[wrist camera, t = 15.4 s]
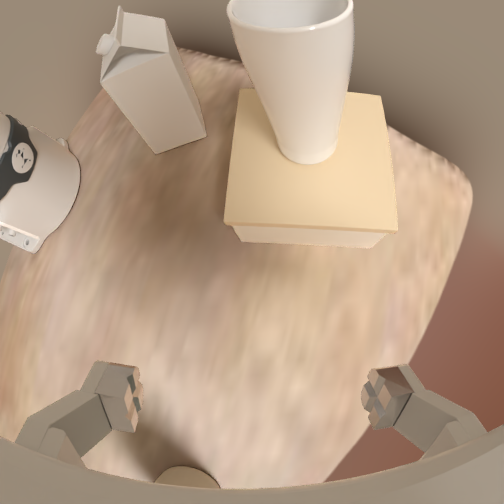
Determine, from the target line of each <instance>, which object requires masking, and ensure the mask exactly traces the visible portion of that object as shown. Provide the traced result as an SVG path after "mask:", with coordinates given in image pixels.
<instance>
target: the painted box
mask: <svg viewBox="0 0 504 504" xmlns="http://www.w3.org/2000/svg"><path fill="white" fill-rule="evenodd" d="M223 222H224V224H225V225H231V226H232V227H233V229H234V230H235V232H236V234H237V235H238V237H239V239H240V240H241V242H254V243H275V244H296V245H316V246H336V247H354V248H372V247H373V246H374V245H375V244H376V243H377V242H379V241H380V240H381V239H382V238H383V237H384V236H385V235H386V234H388V233H389V234H395V233H396V232H397V231H398V221H397V207H396V195H395V185H394V176H393V167H392V160H391V152H390V145H389V139H388V133H387V127H386V121H385V116H384V111H383V106H382V101H381V96H377V95H369V94H361V93H353V92H347V94H346V99H345V104H344V108H343V113H342V118H341V123H340V128H339V135H338V144H337V147H336V149H335V151H334V153H333V154H332V155H331V156H330V157H329V158H328V159H326V160H325V161H323V162H321V163H318V164H313V165H303V164H298V163H295V162H293V161H291V160H289V159H288V158H287V157H286V156H285V155H284V154H283V153H282V152H281V150H280V149H279V146H278V143H277V140H276V136H275V133H274V131H273V129H272V126H271V124H270V121H269V119H268V117H267V115H266V112H265V110H264V108H263V106H262V103H261V101H260V99H259V97H258V95H257V93H256V91H255V88H245V89H240V90H239V97H238V104H237V111H236V119H235V126H234V134H233V142H232V150H231V158H230V166H229V175H228V184H227V192H226V201H225V211H224V220H223Z"/></svg>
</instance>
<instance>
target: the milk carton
mask: <svg viewBox="0 0 504 504" xmlns="http://www.w3.org/2000/svg"><path fill="white" fill-rule="evenodd" d="M96 54H102V55H103V58H102V67H101V76H100V83H101V85H102V86H103V88H104V89H105V90H106V92H107V93H108V94H109V95H110V97H111V98H112V99H113V101H114V102H115V103H116V105H117V106H118V107H119V108H120V110H121V111H122V112H123V114H124V115H125V116H126V117H127V119H128V120H129V121H130V123H131V124H132V125H133V126H134V128H135V129H136V130H137V132H138V133H139V134H140V135H141V137H142V138H143V139H144V140H145V142H146V143H147V144H148V146H149V147H150V148H151V149H152V151H153V152H154V153H155V154H159V153H162V152H164V151H167V150H170V149H173V148H175V147H178V146H181V145H184V144H187V143H190V142H193V141H196V140H199V139H202V138H205V137H207V134H206V129H205V125H204V121H203V117H202V113H201V109H200V105H199V101H198V98H197V96H196V93H195V91H194V89H193V86H192V84H191V81H190V79H189V77H188V74H187V72H186V70H185V67H184V65H183V62H182V60H181V58H180V55H179V53H178V51H177V48H176V46H175V44H174V41H173V39H172V36H171V34H170V32H169V30H168V27H167V25H166V22H165V20H164V19H160V18H156V17H151V16H145V15H139V14H132V13H125V12H124V11H123V10H122V8H121V6H118V11H117V18H116V24H115V26H114V28H113V30H112V31H111V33H110V35H108V34H104V35H103V36H102V37H101V39H100V41H99V43H98V46H97V49H96Z"/></svg>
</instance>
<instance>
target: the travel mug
mask: <svg viewBox="0 0 504 504" xmlns="http://www.w3.org/2000/svg"><path fill="white" fill-rule="evenodd" d="M154 483H159V484H167V485H176V486H185V487H198V488H216V489H220V487H219V486H218V484H217V483H216V482H215V481H214V480H213V479H212V478H211V477H210V476H209V475H207V474H206V473H204V472H202V471H200V470H197V469H195V468H191V467H186V466H176V467H172V468H169V469H167V470H165V471H164V472H163V473H162V474H161V475H160V476H159V477H158V479H157V480H156V481H155V482H154Z"/></svg>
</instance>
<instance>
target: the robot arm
mask: <svg viewBox="0 0 504 504" xmlns="http://www.w3.org/2000/svg"><path fill="white" fill-rule="evenodd" d="M79 183H80V167H79V163H78V161H77V159H76V157H75V156H74V155H73V154H72V153H71V152H70V151H69V149H68V144H67V141H66V140H64V139H63V138H59V139H56V140H54V139H53V138H52V137H50V136H49V135H47V134H46V133H44V132H42V131H41V130H39V129H38V128H36V127H35V126H30V127H27V128H26V127H25V126H24V125H22V124H21V122H20V121H19V120H17V119H15V118H13V117H12V116H10V115H4V114H3V113H2V112H0V239H3V240H5V241H7V242H9V243H11V244H13V245H15V246H17V247H19V248H21V249H24V250H26V251H28V252H30V253H32V254H35V253H36V252H37V251H38V250H39V248H40V247H41V245H42V244H43V242H44V240H45V239H46V238H47V236H49V235H50V234H51V233H52V232H53V231H54V230H55V229H57V228H58V226H59V225H60V224H61V223H62V222H63V220H64V219H65V218H66V216H67V215H68V213H69V211H70V209H71V207H72V205H73V203H74V201H75V198H76V195H77V192H78V188H79ZM139 377H140V372H139V368H138V367H136V366H129V365H123V364H117V363H111V362H110V363H109V362H104V361H99V360H97V361H96V362H95V363H94V364H93V366H92V368H91V370H90V372H89V374H88V376H87V378H86V380H85V382H84V384H83V386H82V388H81V390H80V391H79V390H75V391H74V392H72V393H70V394H68V395H67V396H65V397H63V398H62V399H60V400H58V401H56V402H55V403H53V404H51V405H49V406H47V407H46V408H44V409H42V410H40V411H39V412H37V413H35V414H33V415H31V416H30V417H28V418H27V420H26V422H25V424H24V426H23V427H22V429H21V431H20V433H19V435H18V437H17V439H16V441H15V443H14V442H12V441H10V440H8V439H5V438H3V437H1V436H0V504H504V424H503V425H502V426H500V427H498V428H496V429H494V430H492V431H490V432H488V433H487V431H486V430H485V429H484V427H483V426H482V424H481V423H480V421H479V420H478V419H477V417H476V416H475V415H474V413H473V412H470V411H469V410H466V409H465V408H463V407H461V406H459V405H457V404H455V403H453V402H451V401H449V400H447V399H446V398H444V397H442V396H440V395H438V394H436V393H434V392H432V391H430V390H425V388H424V387H423V385H422V384H421V382H420V381H419V379H418V378H417V377H416V375H415V374H414V372H413V371H412V369H411V368H410V366H409V365H407V364H403V365H396V366H390V367H382V368H374V369H371V370H370V372H369V374H368V376H367V377H368V379H369V381H368V382H367V383H366V384H365V385H364V386H363V389H362V392H361V401H362V405H363V407H364V409H365V410H367V411H368V412H370V413H369V416H368V418H369V420H370V423H371V425H372V427H373V429H374V430H376V429H382V428H388V427H393V426H394V427H393V428H394V429H396V430H397V431H398V432H399V433H401V434H402V435H403V436H404V437H406V438H407V439H408V440H410V441H411V442H412V443H413V444H415V445H416V446H417V447H418V448H420V449H421V450H422V451H424V452H425V454H424V455H423V456H422V457H421V459H420V460H419V461H416V462H413V463H410V464H407V465H403V466H400V467H396V468H393V469H389V470H385V471H381V472H377V473H373V474H368V475H364V476H359V477H354V478H349V479H344V480H338V481H332V482H326V483H319V484H311V485H302V486H292V487H280V488H261V489H216V488H198V487H185V486H176V485H167V484H159V483H152V482H146V481H140V480H134V479H129V478H124V477H119V476H115V475H110V474H106V473H102V472H98V471H94V470H90V469H87V467H86V466H85V464H84V463H83V461H82V460H81V457H82V456H84V455H85V454H86V453H87V452H88V451H89V450H90V449H92V448H93V447H94V446H95V445H96V444H97V443H98V442H100V441H101V440H102V439H103V438H104V437H105V436H106V435H107V434H108V433H110V432H111V431H112V430H111V429H113V430H119V431H125V432H132V433H135V430H136V426H137V423H138V419H139V418H138V415H137V412H138V411H139V410H141V408H142V404H143V387H142V384H141V383H140V382H139V381H138V380H139Z"/></svg>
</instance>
